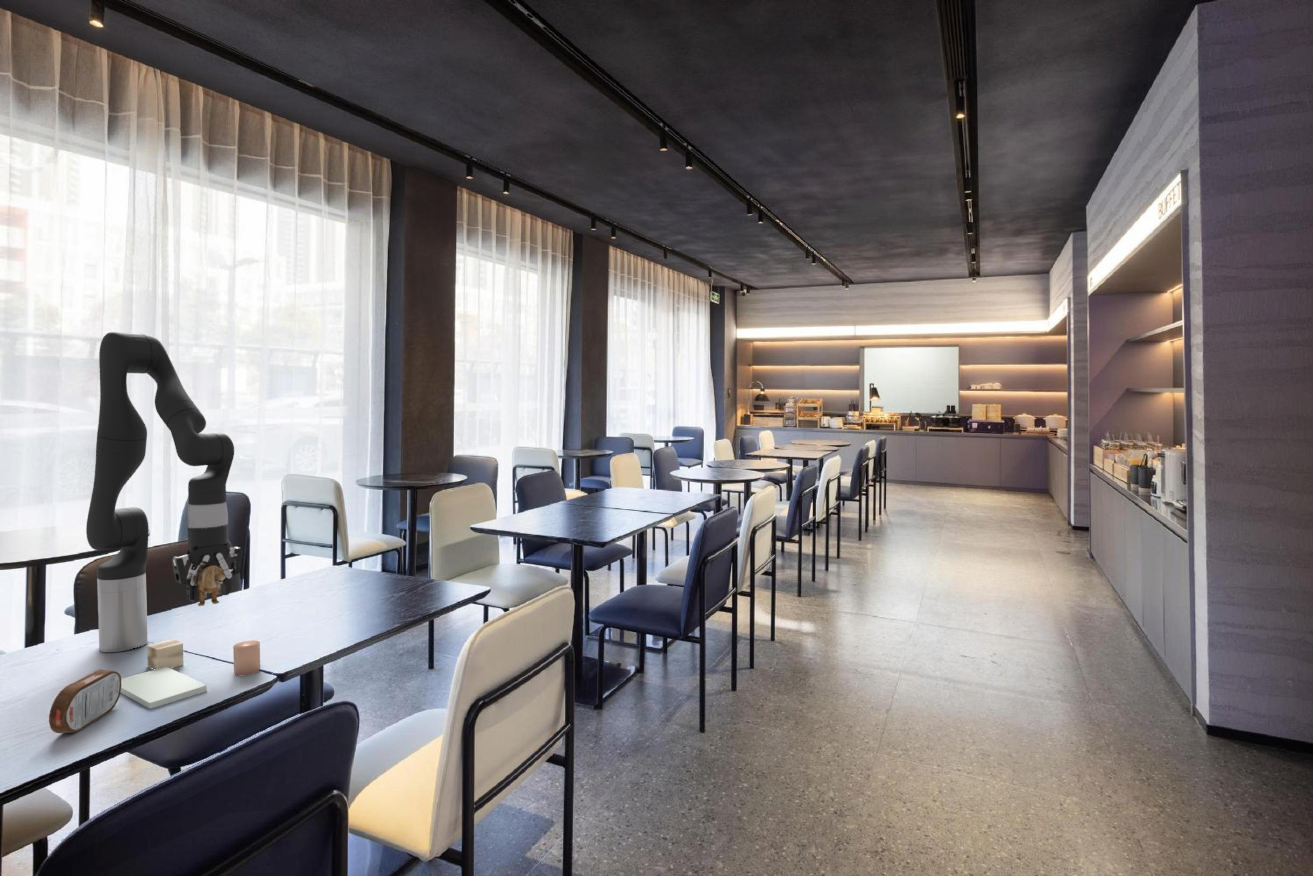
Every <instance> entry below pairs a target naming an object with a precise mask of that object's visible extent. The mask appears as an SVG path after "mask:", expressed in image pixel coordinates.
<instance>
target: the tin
mask: <svg viewBox="0 0 1313 876" xmlns="http://www.w3.org/2000/svg"><path fill="white" fill-rule="evenodd" d="M121 679H122V675H121V674H120V673H119V672H118V671H116V670H113V669H112V670H111V669H109V670H108V669H102V668H101V669H96V670H95V671H94V672H91V673H89V674H87V675H86V676H83V677H82V678H79V679H78V680H76V681H74V682H72V683H70V684H68V685H66V686H65V687H64V688H62V689H61V691H59V693H58V694H57V695H56V697H55V698H54V700H53V702H52V704H51V707H50V710H49V713H48V714H49V715H48V723H49V727H50V729H51V731H52V732H53V733H56V734H74V733H77V732H79V731H82V730H83V729H85V728H86V727H88V726H90V725H91V724H93V723H94V722H96V721H98V720H100V719H101V718H102V717H104V716H106V715H108V714H109V713H111V711H112V710H113V709H114V708H115V706H116V705H117V703H118V702H119V699H120V697H121V694H122V693H121Z"/></svg>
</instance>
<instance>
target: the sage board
mask: <svg viewBox="0 0 1313 876" xmlns="http://www.w3.org/2000/svg"><path fill="white" fill-rule="evenodd" d="M207 686H208V685H207V684H205V683H202V682H200V681H199V680H197V679H194V678H191V677H190V676H187V675H186V674H183V673H181V672H179V671H177V670H175V669H174V668H168V667H162V668H159V669H155V670H153V669H151V670H148V671H145V672H141V673H138V674H137V673H136V674H133V675H130V676H126V677H123V678H121V694H123V695H124V696H126V697H128V698H129V699H131V700H133V701H135V702H137V703H139V704H141V705H142V706H144V707H146V708H148V709H149V710H151V709H154V708H157V707H161V706H164V705H167V704H171V703H173V702H176V701H179V700H182V699H187V698H189V697H193V696H196V695H199V694H202V693H204V692H207Z"/></svg>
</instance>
